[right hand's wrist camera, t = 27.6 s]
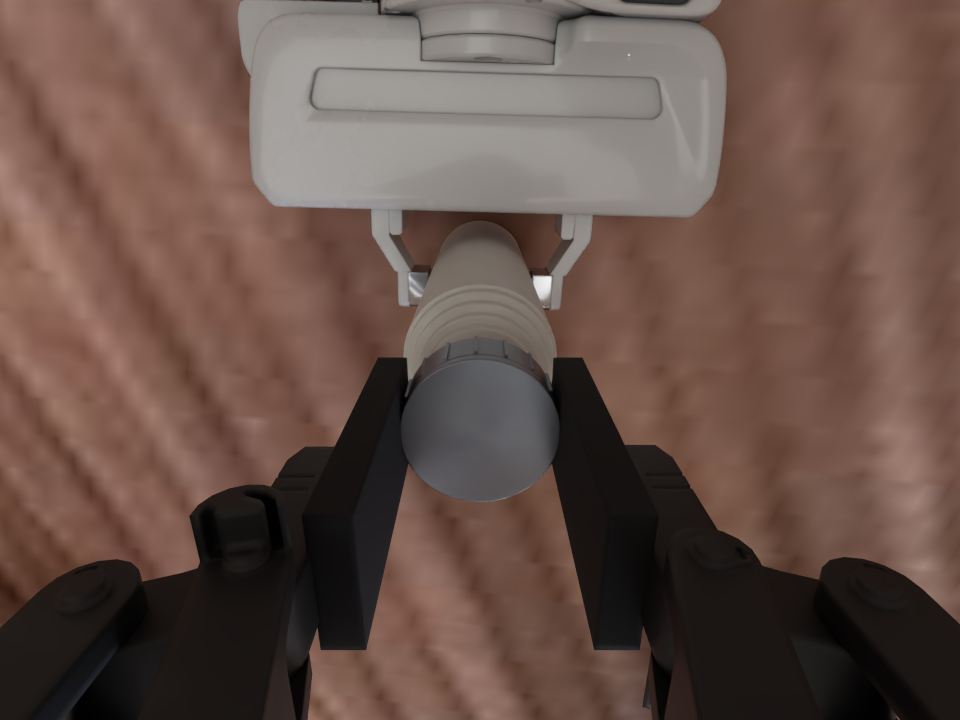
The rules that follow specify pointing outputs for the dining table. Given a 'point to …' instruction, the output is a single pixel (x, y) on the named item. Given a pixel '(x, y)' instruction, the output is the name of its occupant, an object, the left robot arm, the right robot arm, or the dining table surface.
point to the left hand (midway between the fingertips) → (480, 305)
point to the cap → (480, 420)
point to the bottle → (480, 298)
